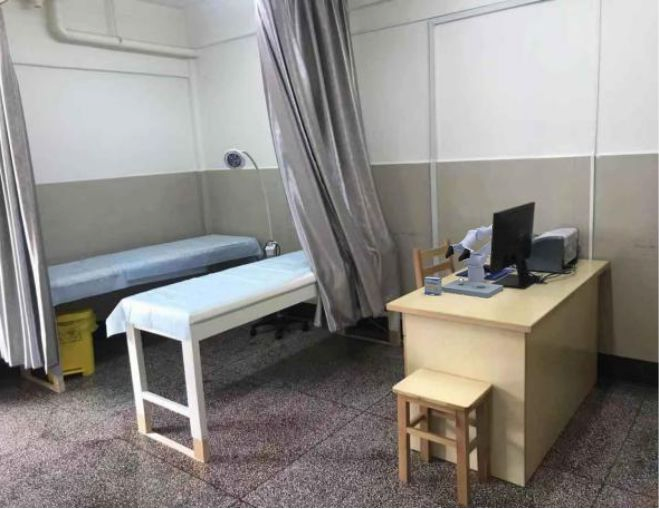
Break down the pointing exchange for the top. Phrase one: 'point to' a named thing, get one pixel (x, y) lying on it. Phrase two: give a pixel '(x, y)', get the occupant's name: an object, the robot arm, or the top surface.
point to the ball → (461, 281)
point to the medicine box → (433, 285)
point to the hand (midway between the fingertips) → (452, 258)
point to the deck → (472, 288)
